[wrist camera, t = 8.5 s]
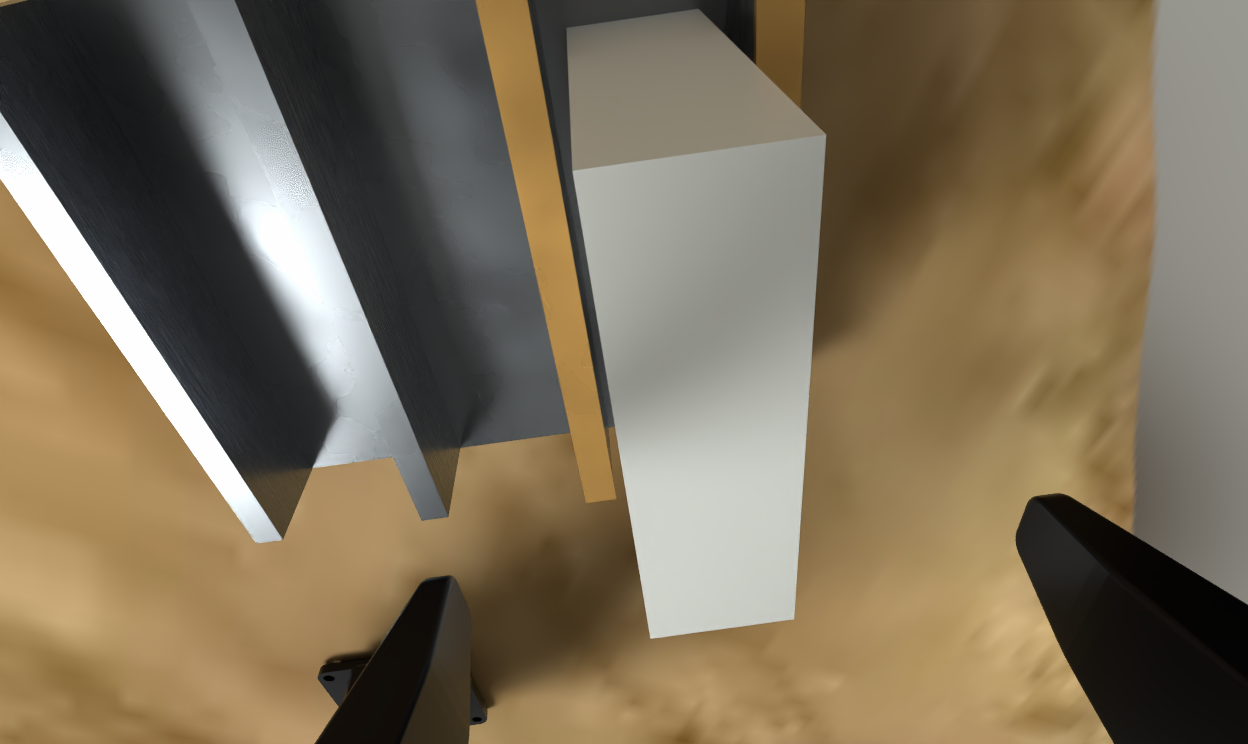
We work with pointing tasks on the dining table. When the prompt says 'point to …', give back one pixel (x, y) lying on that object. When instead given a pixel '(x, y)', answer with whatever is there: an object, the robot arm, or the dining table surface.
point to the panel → (700, 306)
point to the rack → (332, 220)
